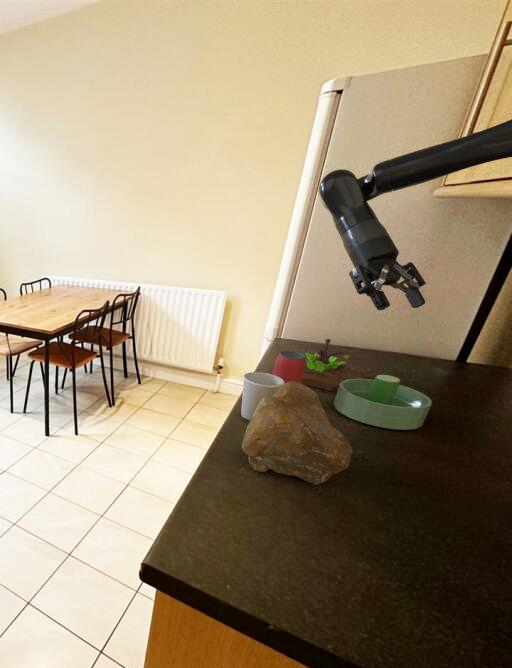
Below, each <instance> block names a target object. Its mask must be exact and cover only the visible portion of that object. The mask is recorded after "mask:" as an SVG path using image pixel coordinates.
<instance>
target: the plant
mask: <svg viewBox="0 0 512 668" xmlns="http://www.w3.org/2000/svg"><path fill="white" fill-rule="evenodd" d="M331 341H332V340H331V339H330V338H326V339H325V340H324V345H323V348H322V349H320V350H319V351H317V352H316V353H314V355H313V354H312V353H310V352H306V353H305V356H306V358H305V359H306V367H305V371H304V374H303V377H302V381H301V384H303V385H305V386H307V387H309V388H315V389H319V390H324V391H327V392H333V393H337V391H338V388H339V385H340V383H341V382H342V381H345V380H348V379H363V377H362V374H361V372H360V371H359V370H358V368H354V367H351V366H349V365H348V364H346V363H347V362H346V361H336V360H337V358H338V357H337V356H335V355H342V358H343V359H345V360H348V359H349V358H350V354H349V353H347V352H344V351H335V352H331V353H329V354H328V347H329V344H331Z"/></svg>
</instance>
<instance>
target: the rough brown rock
mask: <svg viewBox="0 0 512 668" xmlns="http://www.w3.org/2000/svg"><path fill="white" fill-rule="evenodd" d="M241 449H242V452H243V453H244V454H245V455H246V456H248V462H249V463H248V464H249V465H250V467H251V469H252V470H253V471H256V472H260V473H265V472H267V471H268V470H271V471H273V472H275V473H276V474H282V475H285V476H294V477H297V478H298V479H301V480H303V481H304V482H307V483H309V484H312V485H321V484H324V483H327V482H328V481H329V480H330V478H332V477H333V476H335V475H336V474H339V473H341V472H342V471H344V470H346V469H348V468H349V467H350V465H351V464H350V463H351V461H352V455H353V454H354V453H353V450H354V449H353V447H352V445H351V444H350V442H349V441H348V439H347V438H346V437H345V435H344V434H343V433H342V432H341V431H340V430H339V429H336V428H335V427H334V426H332V425H331V423H330V421H329V419H328V416H327V411H326V410H325V409H324V407H323V405H322V403H321V401H320V399H319V396H318V394H317V393H316V391H314V390H313V389H311V387H309V386H305V385H303V384H301V383H298V382H294V381H290V382H287V383H286V384H285V385H284V386H283V387H282V388H281V389H280V390H279V391H278V392H277V393H276V394H275V395H274V396H266V397H264V398H262V400H261V401H260V403H259V404H258V406H257V408H256V410H255V412H254V414H253V416H252V419H251V420H249V423H248V425H247V426H246V429H245V433H244V435H243V439H242V443H241Z"/></svg>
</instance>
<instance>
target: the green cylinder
mask: <svg viewBox="0 0 512 668" xmlns="http://www.w3.org/2000/svg"><path fill="white" fill-rule="evenodd" d="M373 380H374V383H373V385H372V388H371V391H370V393H369V396H368V399H367V400H370V401H373V402H377V403H381V404H386V405H392V402H393V400H394V397H395V395H396V392H397V390H398V387H399V385H401V382H402V381H401V379H400V378H398V377H397V376H393V375H388V374H378V375H376V376H375V377H374V379H373Z"/></svg>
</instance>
